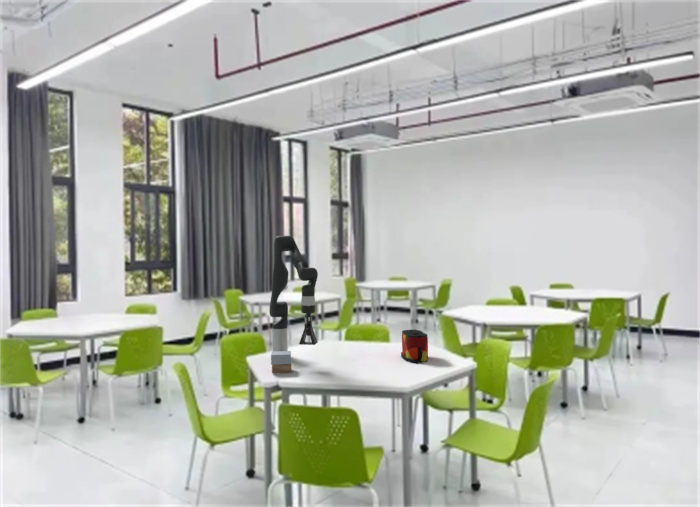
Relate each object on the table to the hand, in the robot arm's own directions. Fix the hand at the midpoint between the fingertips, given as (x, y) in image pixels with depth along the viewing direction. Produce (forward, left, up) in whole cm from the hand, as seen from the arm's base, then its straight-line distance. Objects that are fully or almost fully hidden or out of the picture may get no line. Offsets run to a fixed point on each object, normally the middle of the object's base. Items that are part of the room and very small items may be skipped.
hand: (308, 334), depth 286 cm
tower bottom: (+6, -15, -18) cm, 24 cm away
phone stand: (0, 0, -5) cm, 5 cm away
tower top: (+7, -15, -13) cm, 21 cm away
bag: (-13, +63, -18) cm, 67 cm away
